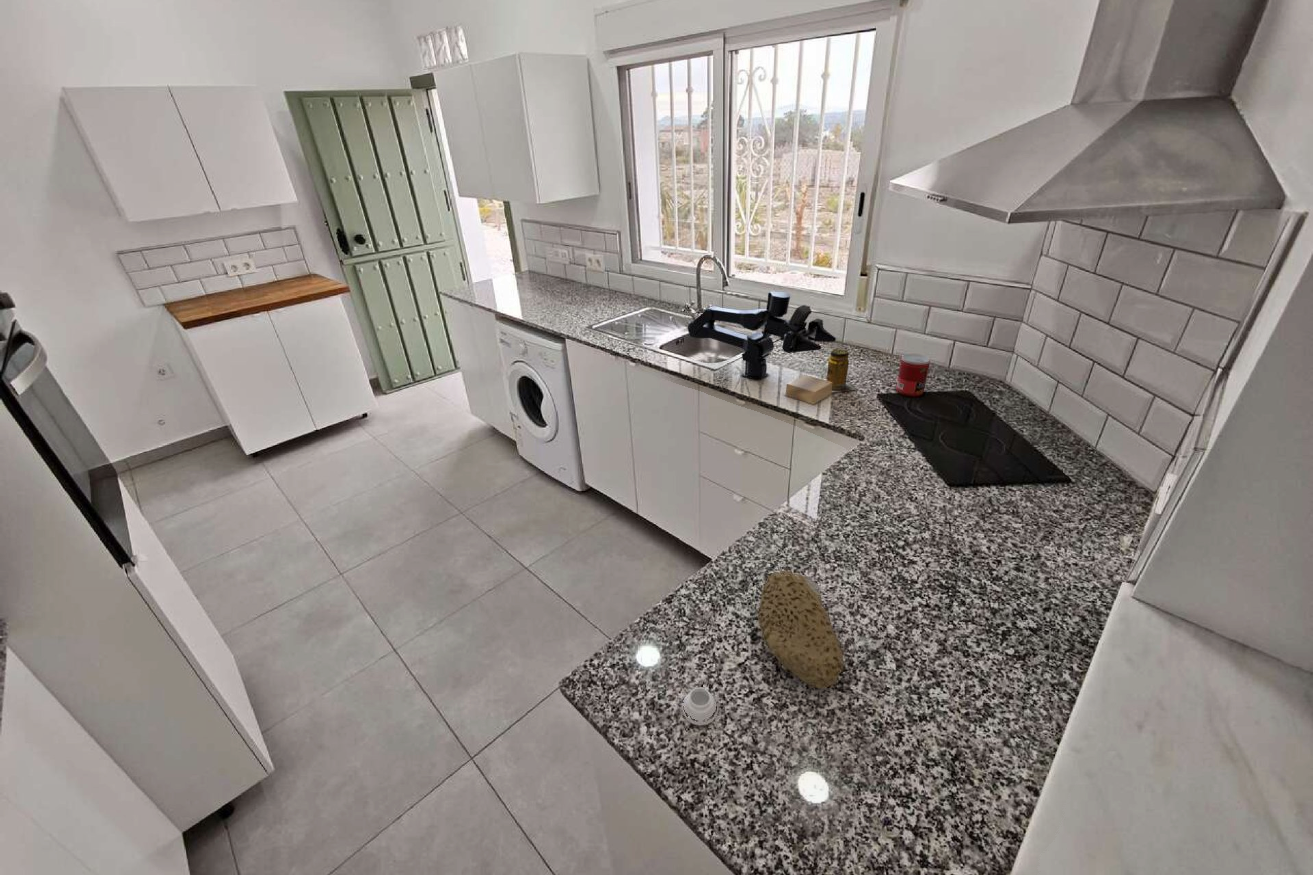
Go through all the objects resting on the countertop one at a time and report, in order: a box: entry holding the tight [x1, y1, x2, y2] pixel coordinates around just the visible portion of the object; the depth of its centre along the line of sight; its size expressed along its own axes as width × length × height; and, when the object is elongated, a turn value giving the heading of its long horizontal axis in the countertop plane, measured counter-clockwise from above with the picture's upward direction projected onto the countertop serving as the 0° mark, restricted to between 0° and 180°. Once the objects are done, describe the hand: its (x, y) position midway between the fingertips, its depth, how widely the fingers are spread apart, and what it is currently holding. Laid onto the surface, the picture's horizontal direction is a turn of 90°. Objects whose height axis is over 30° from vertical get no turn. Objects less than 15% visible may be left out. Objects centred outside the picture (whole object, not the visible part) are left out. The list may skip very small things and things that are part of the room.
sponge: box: [757, 570, 845, 689], centre depth 84 cm, size 13×8×20 cm
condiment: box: [825, 348, 857, 393], centre depth 169 cm, size 7×8×12 cm
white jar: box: [681, 686, 719, 727], centre depth 75 cm, size 5×3×5 cm
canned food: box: [895, 353, 931, 397], centre depth 164 cm, size 8×8×11 cm
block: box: [785, 373, 833, 405], centre depth 167 cm, size 10×10×4 cm
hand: (828, 343), depth 160 cm, fingers open, 9 cm apart
